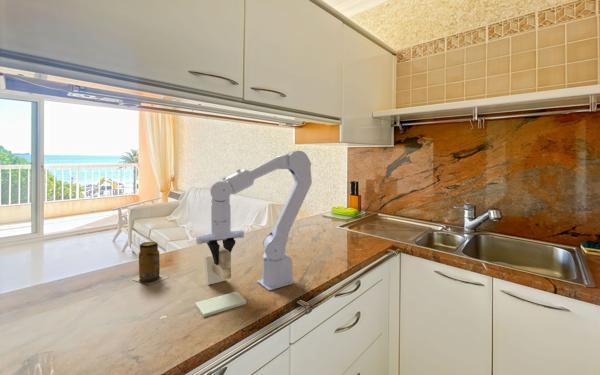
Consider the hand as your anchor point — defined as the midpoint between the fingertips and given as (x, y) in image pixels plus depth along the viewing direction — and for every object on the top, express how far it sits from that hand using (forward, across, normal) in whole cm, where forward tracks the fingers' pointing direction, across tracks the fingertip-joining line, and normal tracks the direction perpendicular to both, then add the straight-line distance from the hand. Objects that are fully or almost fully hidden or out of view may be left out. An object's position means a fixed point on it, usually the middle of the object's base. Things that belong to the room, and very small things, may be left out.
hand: (221, 262), depth 87 cm
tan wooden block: (+4, 0, 0) cm, 4 cm away
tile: (+8, 0, -4) cm, 9 cm away
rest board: (+8, +4, +10) cm, 14 cm away
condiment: (+8, +17, -19) cm, 27 cm away
